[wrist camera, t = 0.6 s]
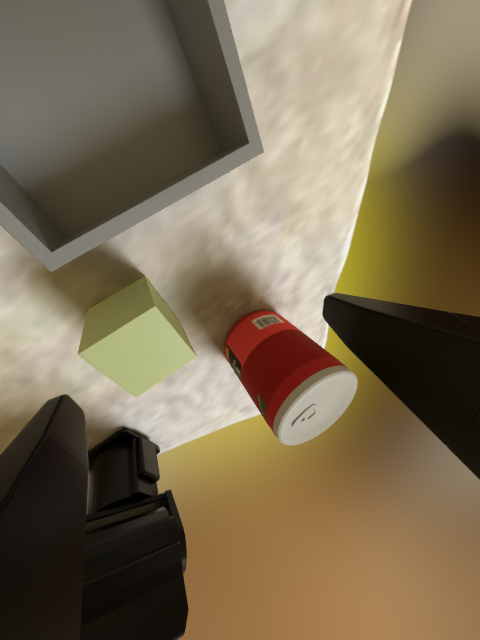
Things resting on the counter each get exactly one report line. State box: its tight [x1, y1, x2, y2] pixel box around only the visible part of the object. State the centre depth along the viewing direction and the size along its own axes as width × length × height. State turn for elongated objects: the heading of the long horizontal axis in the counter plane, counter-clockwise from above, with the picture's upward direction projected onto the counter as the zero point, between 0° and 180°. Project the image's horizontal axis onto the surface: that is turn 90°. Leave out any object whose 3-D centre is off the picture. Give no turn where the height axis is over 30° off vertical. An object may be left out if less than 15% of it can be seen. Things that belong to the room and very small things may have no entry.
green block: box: [78, 276, 197, 397], centre depth 17 cm, size 5×5×6 cm
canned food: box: [225, 310, 357, 445], centre depth 22 cm, size 8×8×11 cm
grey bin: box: [0, 0, 264, 272], centre depth 10 cm, size 13×13×5 cm
